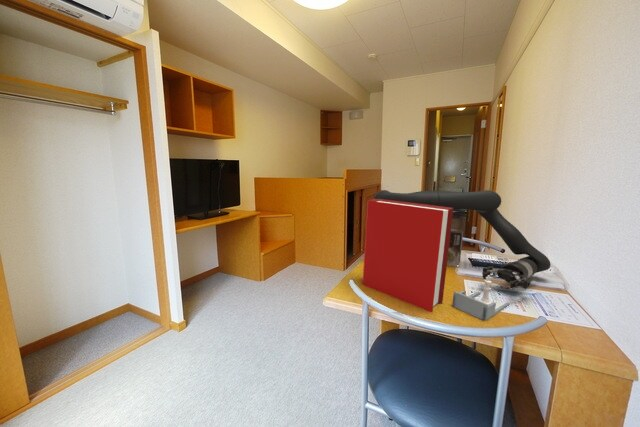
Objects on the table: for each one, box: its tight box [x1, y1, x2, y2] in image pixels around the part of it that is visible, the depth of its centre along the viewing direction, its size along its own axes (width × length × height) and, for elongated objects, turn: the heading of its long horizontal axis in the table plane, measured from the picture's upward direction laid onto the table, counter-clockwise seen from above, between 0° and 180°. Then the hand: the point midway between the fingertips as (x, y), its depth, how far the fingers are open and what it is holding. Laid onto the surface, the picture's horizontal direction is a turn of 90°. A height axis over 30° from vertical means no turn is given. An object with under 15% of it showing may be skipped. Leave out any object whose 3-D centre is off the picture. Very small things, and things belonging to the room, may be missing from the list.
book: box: [362, 198, 454, 313], centre depth 93 cm, size 27×8×32 cm, turn 45°
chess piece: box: [476, 275, 493, 305], centre depth 89 cm, size 5×5×10 cm
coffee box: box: [447, 228, 464, 268], centre depth 126 cm, size 9×6×16 cm
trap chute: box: [451, 290, 511, 322], centre depth 88 cm, size 10×17×5 cm, turn 124°
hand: (497, 280), depth 93 cm, fingers open, 8 cm apart
